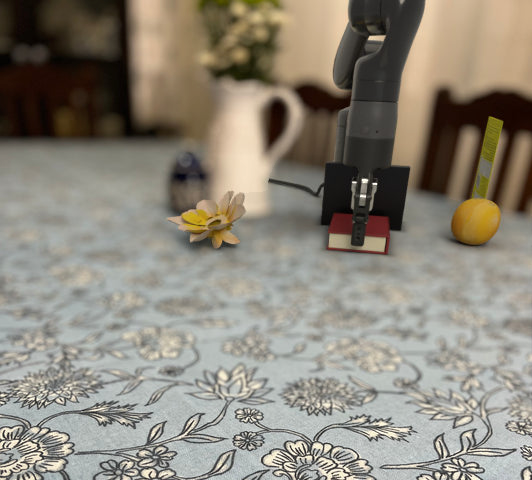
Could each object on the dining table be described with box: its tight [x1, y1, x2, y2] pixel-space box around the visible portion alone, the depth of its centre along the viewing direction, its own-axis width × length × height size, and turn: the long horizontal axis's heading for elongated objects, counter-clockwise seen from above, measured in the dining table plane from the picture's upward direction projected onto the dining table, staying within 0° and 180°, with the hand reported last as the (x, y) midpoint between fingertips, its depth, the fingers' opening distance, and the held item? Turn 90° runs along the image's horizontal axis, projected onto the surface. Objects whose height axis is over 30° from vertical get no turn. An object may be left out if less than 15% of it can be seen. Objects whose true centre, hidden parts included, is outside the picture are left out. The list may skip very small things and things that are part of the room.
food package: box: [470, 116, 504, 199], centre depth 109 cm, size 15×1×20 cm, turn 168°
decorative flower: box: [165, 190, 247, 250], centre depth 91 cm, size 15×11×10 cm
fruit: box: [450, 198, 502, 246], centre depth 95 cm, size 9×8×8 cm
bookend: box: [320, 160, 411, 232], centre depth 104 cm, size 7×16×12 cm, turn 80°
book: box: [326, 213, 391, 255], centre depth 95 cm, size 14×10×3 cm
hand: (357, 244), depth 87 cm, fingers closed
